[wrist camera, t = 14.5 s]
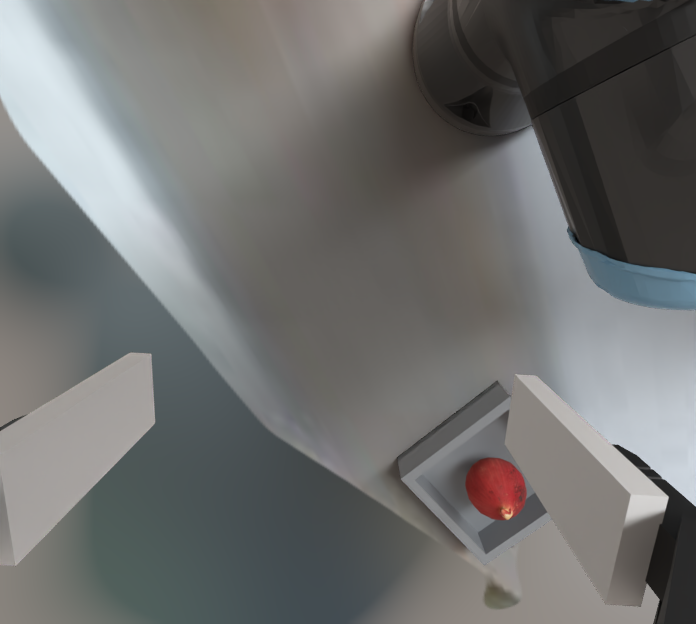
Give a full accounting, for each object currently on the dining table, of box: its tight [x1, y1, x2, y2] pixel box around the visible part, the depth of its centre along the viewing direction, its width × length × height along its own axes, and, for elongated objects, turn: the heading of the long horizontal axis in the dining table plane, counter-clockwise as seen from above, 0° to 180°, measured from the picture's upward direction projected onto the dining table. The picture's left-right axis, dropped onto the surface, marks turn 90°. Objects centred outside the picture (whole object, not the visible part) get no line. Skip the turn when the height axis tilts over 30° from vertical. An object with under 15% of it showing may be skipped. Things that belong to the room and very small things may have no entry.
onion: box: [465, 457, 527, 520], centre depth 43 cm, size 6×6×8 cm
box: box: [397, 381, 552, 565], centre depth 46 cm, size 14×14×4 cm
